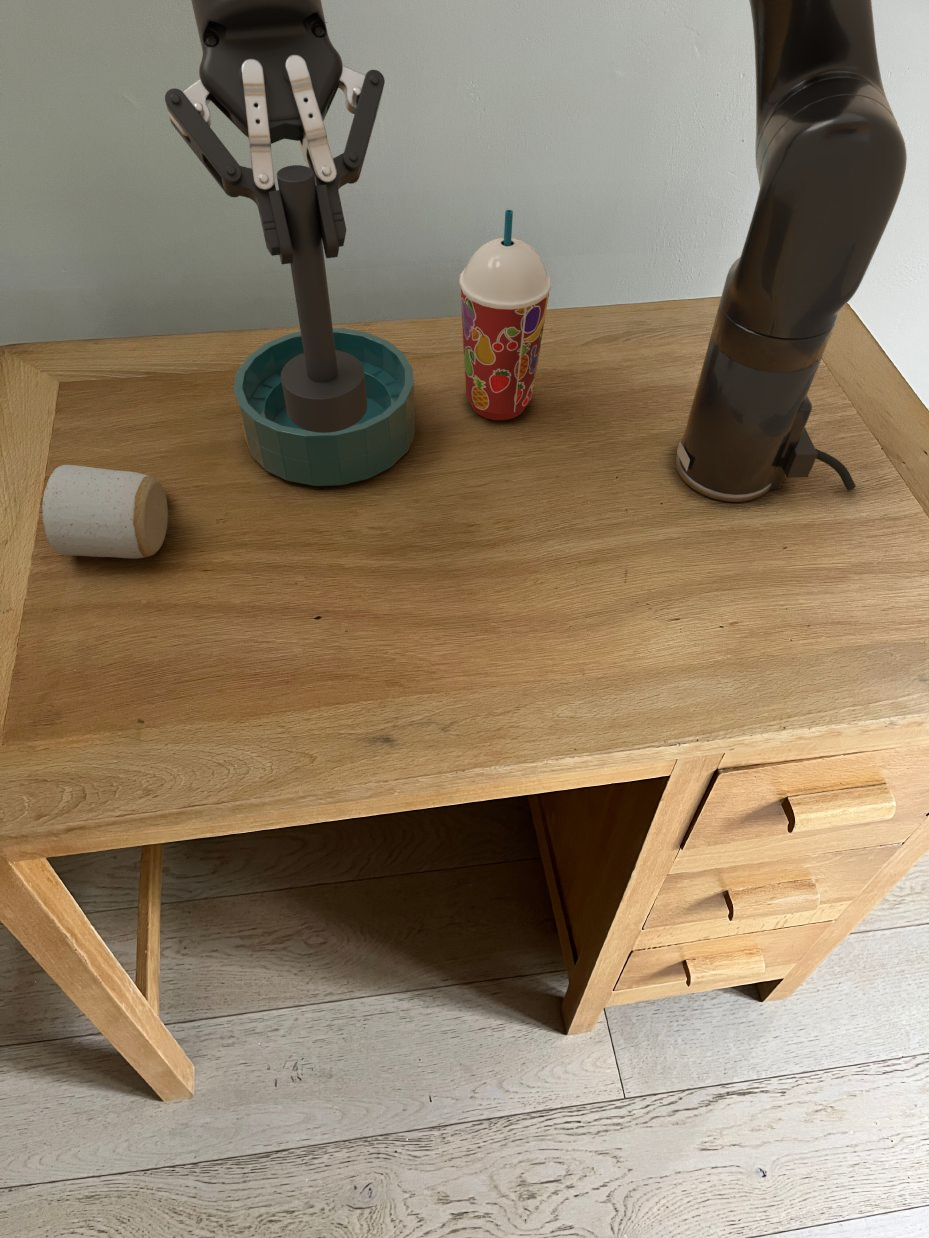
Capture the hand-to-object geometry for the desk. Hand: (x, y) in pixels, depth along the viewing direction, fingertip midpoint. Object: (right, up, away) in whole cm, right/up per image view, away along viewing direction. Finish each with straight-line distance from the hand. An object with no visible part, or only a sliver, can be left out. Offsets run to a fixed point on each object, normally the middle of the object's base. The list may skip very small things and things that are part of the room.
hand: (310, 255), depth 53 cm
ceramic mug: (-21, -15, +24) cm, 35 cm away
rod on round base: (-1, -7, +11) cm, 13 cm away
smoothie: (+13, 0, +36) cm, 38 cm away
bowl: (-4, -4, +32) cm, 33 cm away
